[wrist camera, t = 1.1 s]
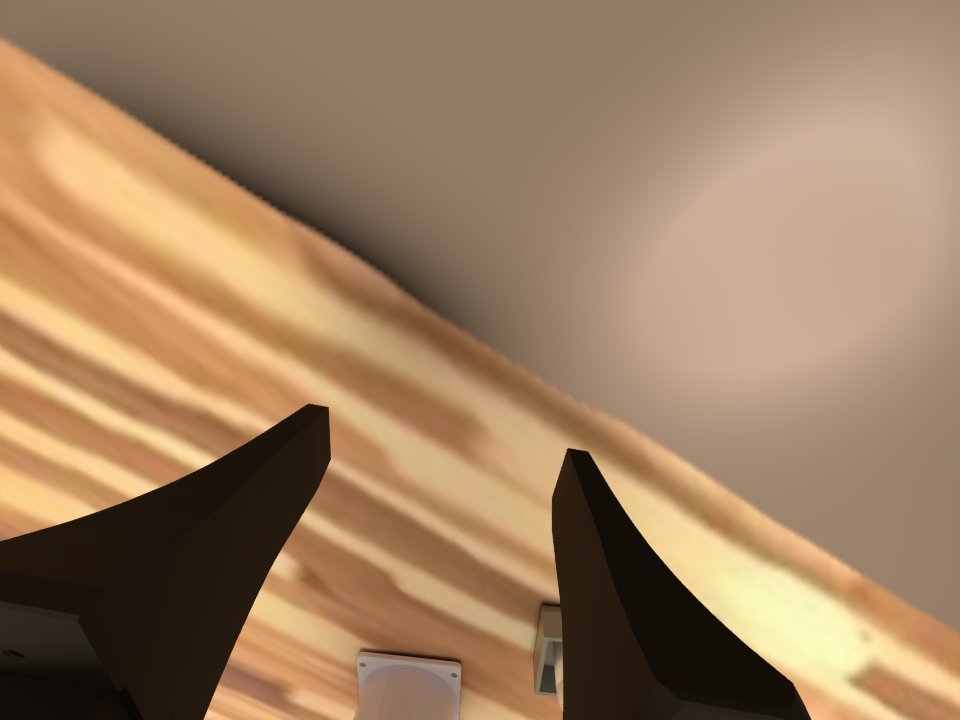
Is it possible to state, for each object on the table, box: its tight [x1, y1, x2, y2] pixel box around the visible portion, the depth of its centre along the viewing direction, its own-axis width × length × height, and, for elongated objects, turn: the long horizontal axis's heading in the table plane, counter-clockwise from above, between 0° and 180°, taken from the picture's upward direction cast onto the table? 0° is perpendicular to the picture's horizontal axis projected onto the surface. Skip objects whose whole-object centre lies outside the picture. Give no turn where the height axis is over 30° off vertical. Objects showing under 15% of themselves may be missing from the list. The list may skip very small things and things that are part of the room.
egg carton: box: [533, 605, 562, 696], centre depth 29 cm, size 6×12×2 cm, turn 87°
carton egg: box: [553, 641, 563, 711], centre depth 27 cm, size 4×4×5 cm
